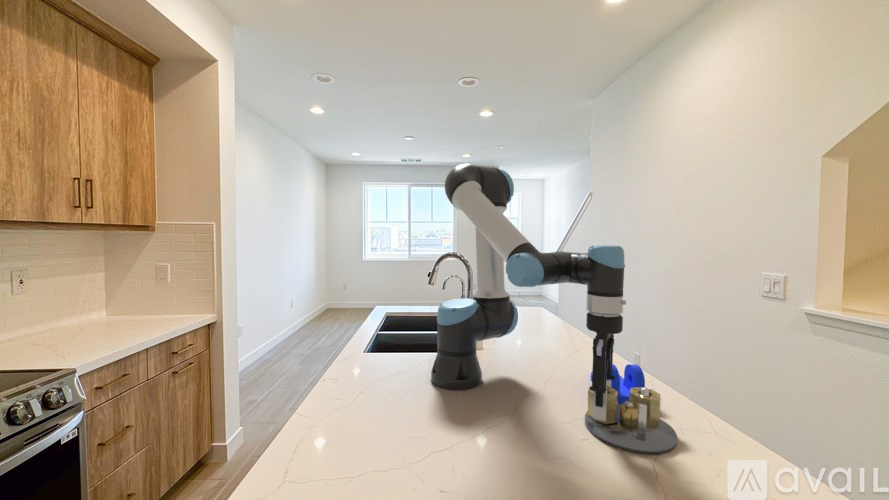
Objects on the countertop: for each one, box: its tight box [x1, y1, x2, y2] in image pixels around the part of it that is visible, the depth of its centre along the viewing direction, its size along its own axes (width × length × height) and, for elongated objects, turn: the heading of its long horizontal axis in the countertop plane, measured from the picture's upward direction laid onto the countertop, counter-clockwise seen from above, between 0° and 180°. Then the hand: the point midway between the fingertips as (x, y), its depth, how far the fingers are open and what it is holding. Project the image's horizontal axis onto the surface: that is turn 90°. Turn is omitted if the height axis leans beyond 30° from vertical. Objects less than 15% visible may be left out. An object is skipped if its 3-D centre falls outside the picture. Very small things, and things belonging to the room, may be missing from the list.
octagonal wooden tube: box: [587, 385, 619, 424], centre depth 82 cm, size 6×6×6 cm
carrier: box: [584, 386, 678, 456], centre depth 79 cm, size 18×18×8 cm
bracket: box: [590, 363, 646, 405], centre depth 100 cm, size 18×8×9 cm, turn 177°
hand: (601, 412), depth 82 cm, fingers open, 6 cm apart
